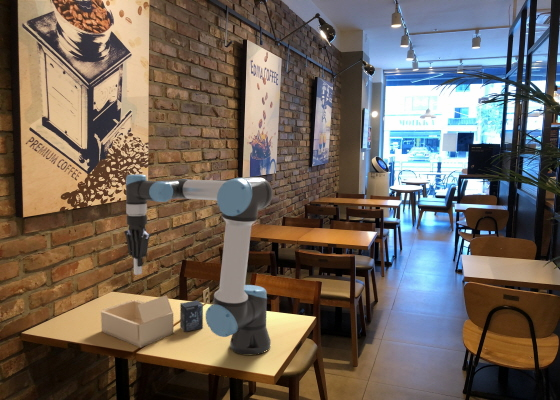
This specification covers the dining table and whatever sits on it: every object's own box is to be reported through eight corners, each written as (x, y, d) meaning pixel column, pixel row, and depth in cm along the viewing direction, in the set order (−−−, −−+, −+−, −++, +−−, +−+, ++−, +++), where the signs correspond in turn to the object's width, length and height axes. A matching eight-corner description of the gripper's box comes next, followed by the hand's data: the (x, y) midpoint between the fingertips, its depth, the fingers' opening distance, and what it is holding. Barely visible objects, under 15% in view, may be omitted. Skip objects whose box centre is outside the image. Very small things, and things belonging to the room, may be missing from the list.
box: (185, 332, 178) (184, 307, 177) (180, 327, 183) (179, 303, 182) (203, 328, 182) (203, 303, 181) (197, 323, 187) (197, 299, 186)
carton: (174, 332, 178) (174, 311, 177) (139, 348, 164) (138, 325, 163) (135, 318, 191) (134, 299, 190) (99, 331, 177) (98, 310, 176)
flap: (172, 311, 175) (166, 295, 176) (143, 323, 163) (137, 305, 164) (171, 312, 175) (165, 295, 176) (142, 323, 164) (136, 305, 165)
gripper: (155, 215, 171) (156, 274, 173) (134, 211, 178) (135, 269, 181) (139, 217, 164) (141, 279, 167) (117, 213, 172) (119, 273, 174)
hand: (137, 273), depth 174 cm, fingers closed
